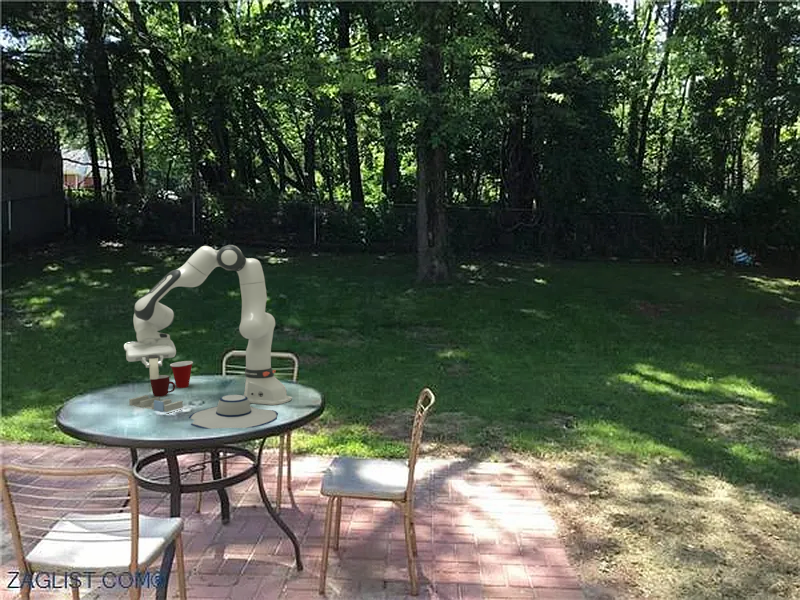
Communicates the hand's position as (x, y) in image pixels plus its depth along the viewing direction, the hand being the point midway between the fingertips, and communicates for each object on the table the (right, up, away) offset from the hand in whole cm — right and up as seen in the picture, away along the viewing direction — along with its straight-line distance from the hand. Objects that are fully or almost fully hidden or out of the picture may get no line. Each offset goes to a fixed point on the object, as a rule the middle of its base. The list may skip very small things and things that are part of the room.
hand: (154, 366), depth 295 cm
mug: (-4, -17, +22) cm, 28 cm away
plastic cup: (-2, -15, +45) cm, 47 cm away
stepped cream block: (0, -19, +2) cm, 19 cm away
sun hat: (+36, -21, -10) cm, 43 cm away
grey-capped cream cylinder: (0, -5, +1) cm, 5 cm away
